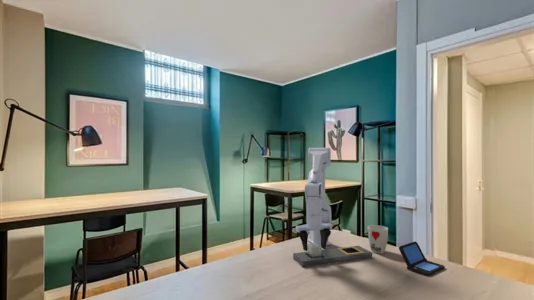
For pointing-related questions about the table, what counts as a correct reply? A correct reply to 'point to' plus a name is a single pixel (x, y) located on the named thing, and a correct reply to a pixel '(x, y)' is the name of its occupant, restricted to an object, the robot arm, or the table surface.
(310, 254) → the steel block
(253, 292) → the table surface
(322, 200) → the robot arm
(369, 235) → the cup
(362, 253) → the grey slotted board
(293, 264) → the table surface
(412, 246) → the handheld game console
